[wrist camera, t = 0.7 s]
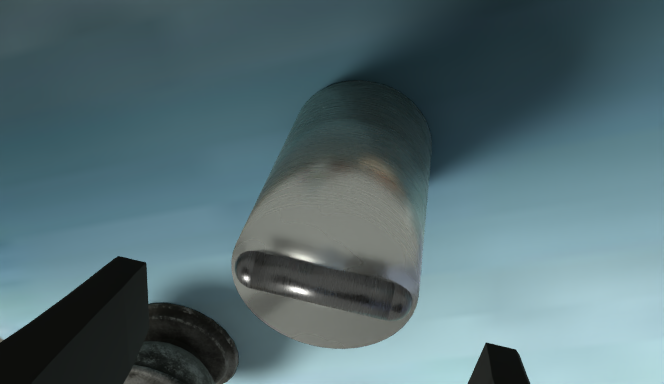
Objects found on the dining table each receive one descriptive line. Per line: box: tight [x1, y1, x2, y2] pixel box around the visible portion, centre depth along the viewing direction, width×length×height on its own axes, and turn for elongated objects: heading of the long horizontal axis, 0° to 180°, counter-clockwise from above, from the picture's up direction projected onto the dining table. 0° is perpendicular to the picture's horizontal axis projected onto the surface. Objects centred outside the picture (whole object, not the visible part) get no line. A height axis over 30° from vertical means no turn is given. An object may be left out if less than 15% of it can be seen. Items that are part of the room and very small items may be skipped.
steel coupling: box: [232, 80, 432, 349], centre depth 17 cm, size 4×4×7 cm
